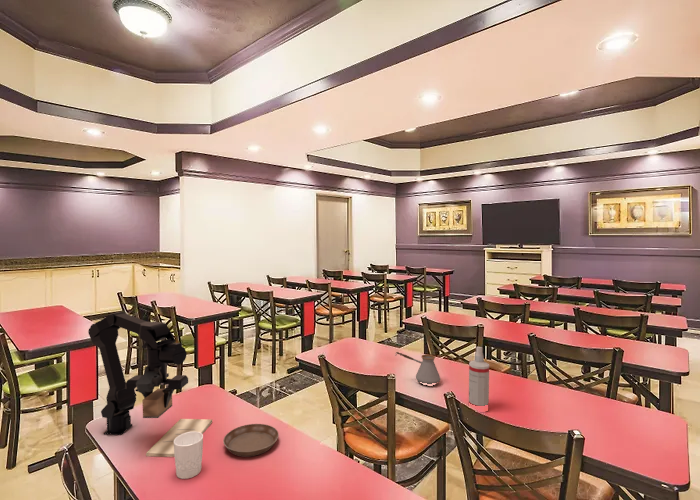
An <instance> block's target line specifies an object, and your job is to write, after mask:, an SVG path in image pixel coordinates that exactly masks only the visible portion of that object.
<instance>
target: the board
mask: <svg viewBox="0 0 700 500" xmlns="http://www.w3.org/2000/svg"><path fill="white" fill-rule="evenodd" d="M212 423H213V419H209V418H208V419H207V418H206V419H201V418H200V419H199V418H179V420H178V421H177V422H176V423H175V424H174V425H172V426H171V428H170V429H168V430H167V432H166V433H165V434H164V435H163V436H162V437H161V438H160V439H158V441H156V443H155V444H154V445H153V446H152V447H150V448H149V450H148V451H147V452H146V453H145V456H146V457H154V458H155V457H156V458H157V457H158V458H160V457H164V458H167V457H168V458H175V455H174V439H175V438H176V437H177V436H179V435H181V434H183V433H187V432H200V433H202V434H203V435H204V433H205V432H206V431H207V430H208V428H209V427H210V425H211V424H212Z"/></svg>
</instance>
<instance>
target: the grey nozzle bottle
mask: <svg viewBox="0 0 700 500" xmlns="http://www.w3.org/2000/svg"><path fill="white" fill-rule="evenodd" d="M475 351H476V352H475V355H474V360H470V361H469V363H468V366H469V367H468V404H469V403H470V404H472V405H475V406H485V405H488V403H490V395H489V394H490V364H489V363H488V362H487V361H484V360H485V359H484V353H483V347H482V346H476V350H475Z"/></svg>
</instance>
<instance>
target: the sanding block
mask: <svg viewBox="0 0 700 500" xmlns="http://www.w3.org/2000/svg"><path fill="white" fill-rule="evenodd" d="M163 389H164V388H157V389H156V390H153V393H151V394H150V395H149V396H147V397H146V398H144V397H143V398H142V418H143V419H159V418H160V417H161V416H163V414H165V413H166V412H167V411H168V410H170V408H172V407H173V395H172V396H171V398H170V401H169V403H168V406H167V407H166V408H165V407H164V393H163V391H162V390H163Z"/></svg>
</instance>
